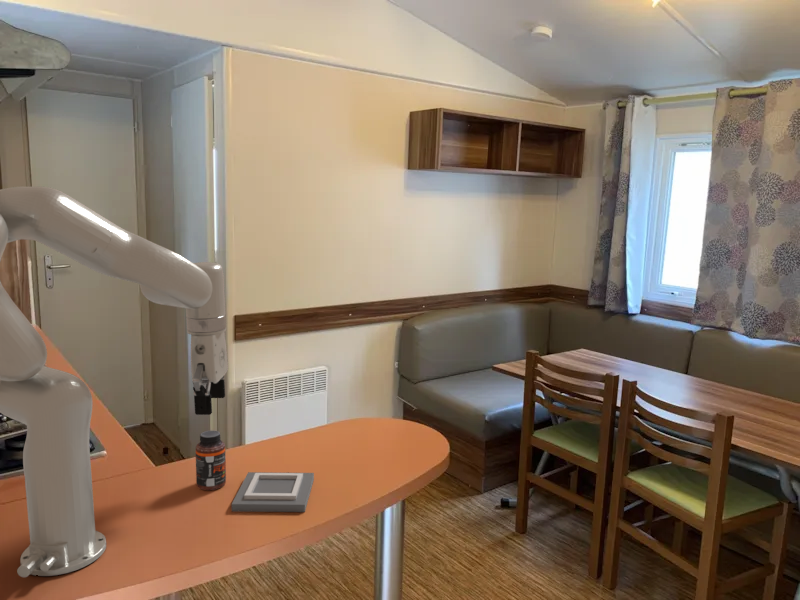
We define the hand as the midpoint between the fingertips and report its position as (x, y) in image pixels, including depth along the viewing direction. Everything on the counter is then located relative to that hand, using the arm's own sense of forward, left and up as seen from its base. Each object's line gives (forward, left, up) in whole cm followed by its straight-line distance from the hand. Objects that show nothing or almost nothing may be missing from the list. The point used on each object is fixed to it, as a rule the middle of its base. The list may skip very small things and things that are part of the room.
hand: (210, 405), depth 127 cm
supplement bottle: (0, 0, -17) cm, 17 cm away
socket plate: (-4, -14, -17) cm, 22 cm away
